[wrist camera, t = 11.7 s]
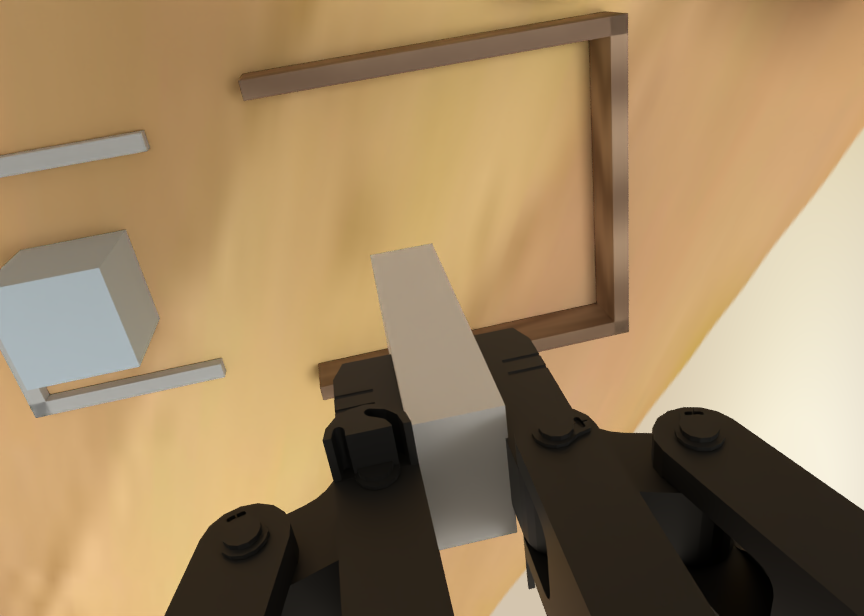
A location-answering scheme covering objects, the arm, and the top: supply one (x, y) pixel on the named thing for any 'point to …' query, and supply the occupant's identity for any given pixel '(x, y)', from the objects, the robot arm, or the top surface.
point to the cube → (75, 310)
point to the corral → (122, 388)
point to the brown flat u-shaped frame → (607, 151)
